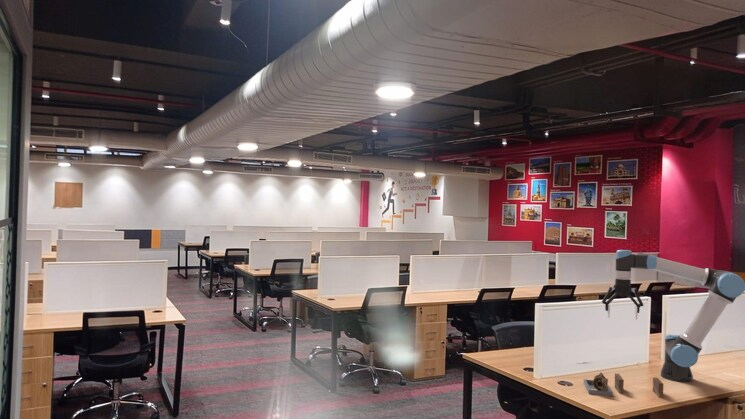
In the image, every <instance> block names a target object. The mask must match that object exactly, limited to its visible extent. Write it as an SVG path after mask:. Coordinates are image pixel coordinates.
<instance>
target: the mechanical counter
mask: <svg viewBox="0 0 745 419" xmlns="http://www.w3.org/2000/svg"><path fill="white" fill-rule="evenodd" d="M592 380H593V386H594V387H595V388H596V389H595V390H600V391H607V384H608V383H609V382H608V381H609V379H608V378H607V377H606V376H604V374H603V372H600V373H599V374H597V375H595V376H594V378H593V379H592ZM608 385H609V384H608Z"/></svg>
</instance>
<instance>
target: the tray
mask: <svg viewBox="0 0 745 419" xmlns="http://www.w3.org/2000/svg"><path fill="white" fill-rule="evenodd" d="M583 384H584V387H585V389H586V391H587V393H588V395H595V394H596V395H595V396H605V397H613V394H614V393H613V390H612V389H611V388H610V385H609V384H607V391H600V390H597V389H596V388H595V387H594V386H593V379H588V378H587V379H585V378H583Z"/></svg>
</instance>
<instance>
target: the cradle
mask: <svg viewBox="0 0 745 419" xmlns="http://www.w3.org/2000/svg"><path fill="white" fill-rule="evenodd" d="M624 384H625V383H624V378H623V377H622V376H621V375H620V373H614V388H615V390H616V391H617V393H618V394H624ZM652 392H653V393H654V394H655V396H656V397H658V398H661V399H663V398H664V383H663V382H662V381H661V379H659V377H656V376H655V377H654V376H653V377H652Z"/></svg>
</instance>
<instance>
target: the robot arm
mask: <svg viewBox="0 0 745 419" xmlns="http://www.w3.org/2000/svg"><path fill="white" fill-rule="evenodd" d="M632 269H639V270H640V269H641V270H651V271H655V272H659V273H662V274H666V275H671V276H674V277H677V278H681V279H684V280H685V279H686V280H690V281H693V282H696V283H700V284H701V286H704V287H707V288H709V289H708V294H709V295H708V296H707V298H706V300H705V301H704V303H703V304H702V306H701V307H700V308H699V310H698V312H697V313H696V315H695V316H694V317H693V319H692V320H691V322H690V324H689V326H688V327H687V328H686V330H685V331H684V333H682V334H666V335H665V337H664V361H663V365H662V367H661V369H660V376H661V377H662V378H663V379H667V380H671V381H674V382H680V383H690V382H693V380H694V376H693V373H692V372H693V371H692V369H691V367H693V366H695V365H696V364H697V363H698V360H699V354H700V352H701V351H702V350H703V345H702V343H703V342H704V340H705V339H706V337H707V336H708V334H709V332H710V331H711V330H712V328H713V327H714V325H715V324H716V322H717V321H718V320H719V318H720V316H721V315H722V313H723V312H724V310H725V309H726V307H727V306H728V305H730V304H733V303H734V302H735V300H736V299H737V297H740V296H741V295H742V294H744V292H745V280H744V279H743V278H742V277H741V276H740V275H738V274H736V273H735V272H730V271H727V270H720V269H719V270H718V269H713V268H709V267H706V268H700V267H697V266H693V265H690V264H685V263H682V262H677V261H674V260H669V259H666V258H662V257H659V256H656V255H652V254H646V253H643V252H637V253H635V254H633V252H632V250H628V249H618V250H616V253H615V279H614V280H615V281H614V282H615V283H614V285H615V286H614V287H612V286H608V290H607V292H606V293H605V295H604V297H603V299H602V300H601V303H602V304H603V305H604V307H605V308H604V309H605V311H606V317H607V318H611V317H610V316H611V315H610V314H611V313H610V312H611V305H610V304H611V302H613V301H614V299H616V297H618V296H620V297H628V298H629V299H630V300H631V301H632V302H633V303H634V305H635V306H634V316H633V317H634V319H635V320H638V314H640V308H641V307H644V306H645V305H644V303H643V301H642V299H641V297H640V295H639V293H638V289H637V288H636V287H634V288H632V287H631V286H632V284H631V282H632V280H631V278H632ZM613 291H615V292H614V293H613V294H612V292H613ZM631 292H632V293H634V295H635V298H636V299H635V298H634V297H633V295H631ZM611 294H612V295H611ZM610 295H611V297H610ZM636 300H637V301H636Z"/></svg>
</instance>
